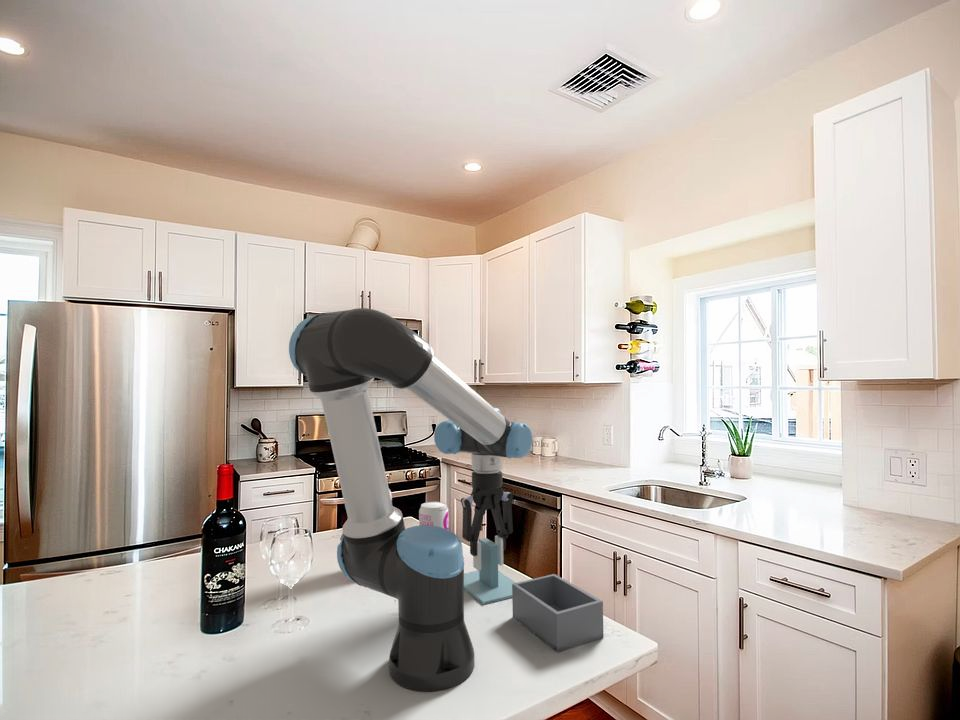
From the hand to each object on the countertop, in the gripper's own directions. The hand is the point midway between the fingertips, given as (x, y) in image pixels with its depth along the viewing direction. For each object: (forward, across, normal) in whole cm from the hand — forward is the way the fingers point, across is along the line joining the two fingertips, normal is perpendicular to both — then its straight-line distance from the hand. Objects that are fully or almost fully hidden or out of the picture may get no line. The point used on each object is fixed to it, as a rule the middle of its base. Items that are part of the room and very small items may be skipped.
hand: (488, 565), depth 127 cm
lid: (+5, 0, 0) cm, 5 cm away
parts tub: (+5, +2, -25) cm, 25 cm away
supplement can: (+5, -4, +24) cm, 25 cm away
